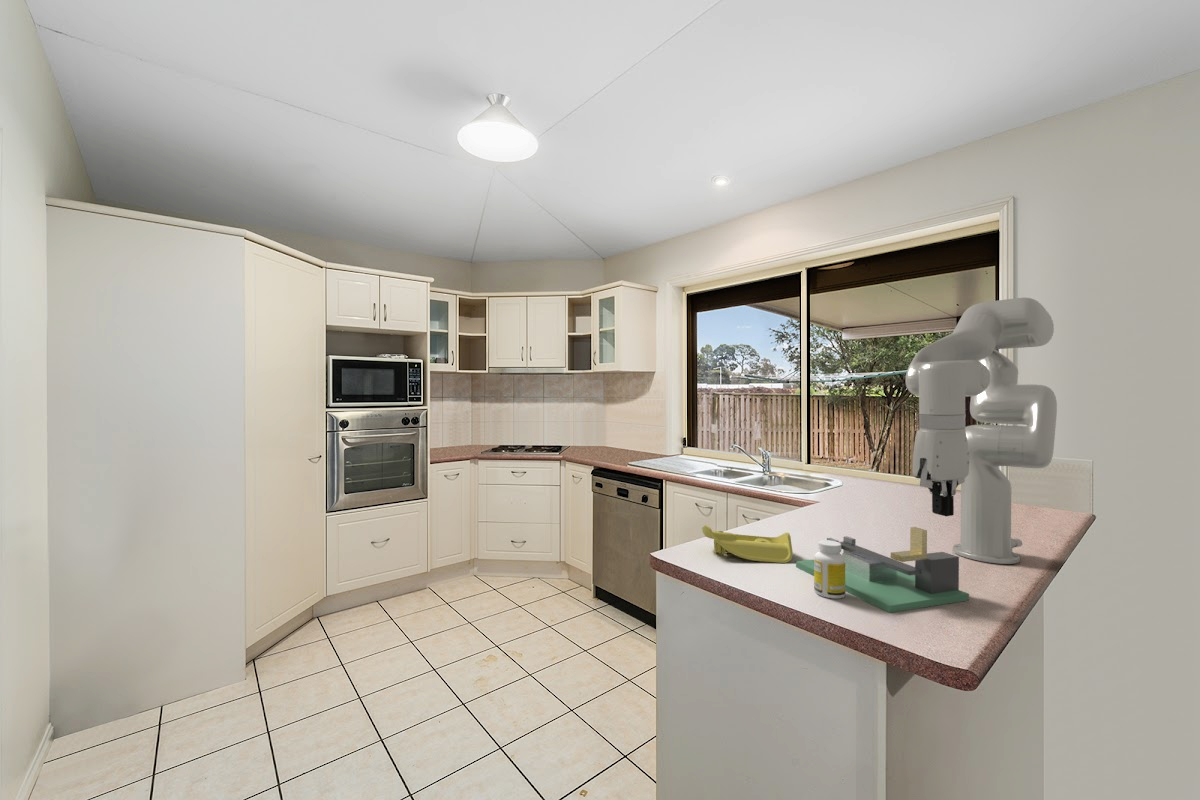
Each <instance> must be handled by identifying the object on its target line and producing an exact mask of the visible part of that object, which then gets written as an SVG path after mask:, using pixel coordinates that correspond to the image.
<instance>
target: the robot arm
mask: <svg viewBox="0 0 1200 800" xmlns="http://www.w3.org/2000/svg"><path fill="white" fill-rule="evenodd" d="M1054 325H1055V324H1054V320H1053V319H1052V316H1051V314H1050V312H1048V311H1047V309H1046V308H1045V307H1044V306H1043V304H1042V303H1041V302H1039V301H1038V300H1036V299H1035V298H1032V297H1015V298H1008V299H1006V298H1005V299H999V300H991V301H983V302H979V303H975V304H972V305H971V306H969V307H967V309H966V310H965V311H963V314H962V315H961V317H960V319H959V321H958V322H957V324H956V326H955V327H954V329H953V331H952V333H950V334H948V335H946V336H944V337H942V338H939V339H938V340H935V341H934V342H932V343H930V344H928V345H926V346H924V347H923V348H921V349H920V350H918V352H916V354H915V355H914V357H913V359H912V360H911V362H910V363H909V366H908V367H907V371H906V374H905V386H906V389H907V390H908V392H909V393H910V394H912V395H914V396H917V397H918V417H919V419H918V422H919V424H918V425H919V427H918V430H917V431H916V434H915V439H914V445H913V452H912V453H913V455H912V476H913V477H914V478H915V479H920V480H919V486H920V487H924V488H927V489H928V492H929V494H931V502H932V503H931V507H932V509H931V511H932V513H933V514H934V515H938V516H944V517H951V516H954V513H955V512H954V509H955V507H954V501H955V500H954V498H955V497H954V496H955V495H956V493H957V488H958V487H959V486H960V543H956V544H953V545H952V551H953V553H955V554H956V555H957V556H961V557H964V558H966V559H970V560H975V561H978V562H984V563H989V564H990V563H991V564H999V565H1013V564H1018V563H1020V561H1021V559H1020V556H1019V554H1017V553H1015V552H1013V549H1014V548H1018V547H1022V546H1023V541H1022V540H1021V539H1019V538H1012V485H1011V482H1010V480H1009V479H1008V477H1007V476H1006V474H1004V472H1003V471H1002V470H1001V469H1000V468H999V467H1011V468H1012V467H1013V468H1022V469H1023V468H1024V469H1025V468H1026V469H1044V468H1046V467H1048V466H1049V465H1050V463H1052V459H1053V458H1054V457H1053V455H1054V448H1055V440H1056V439H1055V436H1056V426H1057V413H1058V403H1057V397H1056V394H1055V392H1054V390H1053V389H1051V388H1050V387H1048V386H1046V385H1044V384H1043V385H1042V384H1018V377H1019V376H1018V375H1019V369H1018V367H1017V366H1016V365H1015V364H1014V362H1013V361H1012V360H1011V359H1009V358H1008V357H1007V356H1005V355H1004V354H1002V353H1000V352H999V351H998V350H1003V349H1022V348H1023V349H1025V348H1036V347H1037V348H1038V347H1042V346H1044V345H1047V344H1048V343H1049V342H1050V341H1051V340H1052V338H1053V336H1054V330H1055V327H1054ZM966 397H967V398H968V397H970V402H969V413H970V416H971V418H972V419H974V420H975V421H976V422H980V423H985V424H972V425H967V426H966ZM1019 425H1020V426H1019ZM1024 425H1025V426H1024Z"/></svg>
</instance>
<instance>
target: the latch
mask: <svg viewBox="0 0 1200 800" xmlns="http://www.w3.org/2000/svg"><path fill="white" fill-rule="evenodd" d="M909 528H910V530H909V531H910V533H909V534H910V535H909V536H910V539H909V540H910V541H909V543H910V545H909V550H903V551H894V552H890V558H891V559H894V560H897V561H899V562H902V563H906V562H913V561H914V562H915V560H924V559H927V553H928V530H927V529H923V528H920V527H917V526H912V527H909Z"/></svg>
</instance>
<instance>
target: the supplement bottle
mask: <svg viewBox="0 0 1200 800" xmlns="http://www.w3.org/2000/svg"><path fill="white" fill-rule="evenodd" d="M817 542H818V546H817V548H818V550H819V551H817V552H816V553H814V556H813V558H814V559H813V560H814V575H813V576H814V577H813V579H814V580H813V581H814V582H813V585H814V586H813V589H814V592H815V594H817V595H818V596H821V597H823V598H827V599H834V600H836V599H837V600H838V599H839V600H840V599H842V598H844V597H845V596H846V591H845V558H844V556H842V549H841V543H839V542H840V541H839V542H836V541H831V540H827V539H822V540H819V541H817Z"/></svg>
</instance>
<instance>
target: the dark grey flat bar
mask: <svg viewBox="0 0 1200 800" xmlns="http://www.w3.org/2000/svg"><path fill="white" fill-rule="evenodd" d="M839 543H841V550H842V551H843V550H846V551H849V552H851V553H854V554H856V555H859V556H861V557H864V558H866V559H869V560H871V561H874V562H876V563H879V564H881V565H884V566H886V567H889V568H891V569H894V570H896V571H899V572H901V573H904V574H906V575H917V574H921V569H918V568H915V566H913V565H909V564H907V563H906V562H900V561H898V560H895V559H892V558H891V557H888V556H886V555H883V554H880V553H877V552H875V551H872V550H871V549H867V548H864V547H862V546H859V545H857V544H855V545H854V544H851V543H849V542H847V541H839Z"/></svg>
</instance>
